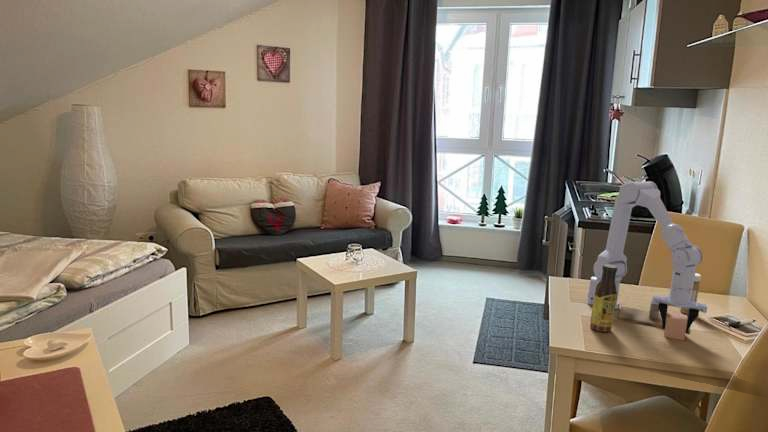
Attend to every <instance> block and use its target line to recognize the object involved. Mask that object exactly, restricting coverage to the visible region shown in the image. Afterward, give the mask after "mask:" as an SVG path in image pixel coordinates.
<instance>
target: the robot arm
mask: <svg viewBox="0 0 768 432" xmlns="http://www.w3.org/2000/svg"><path fill="white" fill-rule="evenodd" d="M636 206H640V207H644V208H647V209H648V210H649V212H650V213H651V215H652V216H653V218H654V219H655V220H656V222H657V223H658V224H659V226H660V227H661V233H660V236H661V237H662V239H663V240H664V242H665V243H666V245H667V247H668V249H669V250H670V252H671V253H672V254H671V255H670V261H671V263H672V270H673V271H672V277H671V284H670V290H669V296H660V295H652V298H651V301H652V303H653V304H656V303H657V304H659V306H658V308H659V313H660V314H661V318H662V325H663V326H662V330H664V329H665V324H666V315H667V312H668V308H669V307H674V308H679V309H681V308H685V309H689V311H688V314H687V326H686V332H685V335H686V334H687V335H688V334H689V333H688V330H689V331H690V328H691V326H692V325H693V323H694V322H695V320H696V319H697V318H698V317H699V314H700V312H702V313H703V314H706V313H707V311H708V304H704V303H699V302H698V301H697V302H693V301H691V296H692V290H693V284H694V278H695V273H697V272H696V270H697V266H698V265H700V264H701V263H702V261H703V253H702V250H701V248H700V247H698V246H697V245H694V244H693V243H692V242H691V241H690V240H689V238H688V236H687V235H686V233H685V229H684V228H683V226H681V225H679V224H678V223H677V224H676V223H674V222H673V219H672V217H671V216H670V213H669V212H668V210H667V208H666V206H665V204H664V202H663V200H662V199H661V190H659V189H658V186H657V184H656V183H655V182H654V181H651V180H648V181H627V182H625V183H623V184H622V185H620V187H619V191H618V194H617V195H616V197H615V200H614V206H613V210H612V214H611V220H610V224H609V231H608V236H607V241H606V246H605V249H604V251H602V252H600V254H598V256H597V260H596V261H595V263H594V264H593V274H594V275H593V276H591V277H590V281H589V282H590V283H589V287H588V288H589V289H588V292H587V303H586V304H588V305H590V306H591V305H592V306H593V301H594V295H595V291H596V286H597V284H598V283H599V282H600V281H601V278H602V273H603V265H604V264H610V265H615V266H617V272H616V276H615V285H616V291H617V299H616V305H615V310H618V308H619V304H620V301H619V293H620V285H621V281H622V280H623V277H625V276H626V275H627V272H628V266H627V261H628V258H627V256H626V255H625V254H624V250H625V245H626V241H627V240H626V239H627V236H628V231H629V225H630V220H631V215H632V210H633V208H634V207H636Z"/></svg>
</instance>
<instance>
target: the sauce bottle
mask: <svg viewBox="0 0 768 432" xmlns="http://www.w3.org/2000/svg"><path fill="white" fill-rule="evenodd" d="M616 272H617V266H615V265H610V264H604V265H603V273H602V278H601V281H600V282H599V283H598V284H597V286H596V291H595V295H594V301H593V305H592V310H591V314H590V325H589V326H590V328H591V329H592V330H593V331H596V332H599V333H600V332H601V333H608V332H610V331H611V330H612V327H613V323H614V315H615V310H616V309H615V305H616V299H617V291H616V285H615V276H616Z"/></svg>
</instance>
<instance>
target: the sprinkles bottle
mask: <svg viewBox="0 0 768 432" xmlns="http://www.w3.org/2000/svg"><path fill="white" fill-rule="evenodd" d="M701 280H702V275H701V274H700V273H697V272H695V278H694V284H693V290H692V296H691V301H693V302H697V303H698V297H699V296H698V295H699V289H700V283H701ZM679 311H680V312H681V313H682V314H683V315H688V311H689V309H685V308H679Z"/></svg>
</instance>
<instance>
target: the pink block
mask: <svg viewBox="0 0 768 432" xmlns="http://www.w3.org/2000/svg"><path fill="white" fill-rule="evenodd" d="M687 318H688V314H684V313H682V314H681V313H676V312H671V311H667V315H666V324H665V329H663V337H666V338H670V339H675V340H679V341H685V338H686V333H685V332H686V326H687Z"/></svg>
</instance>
